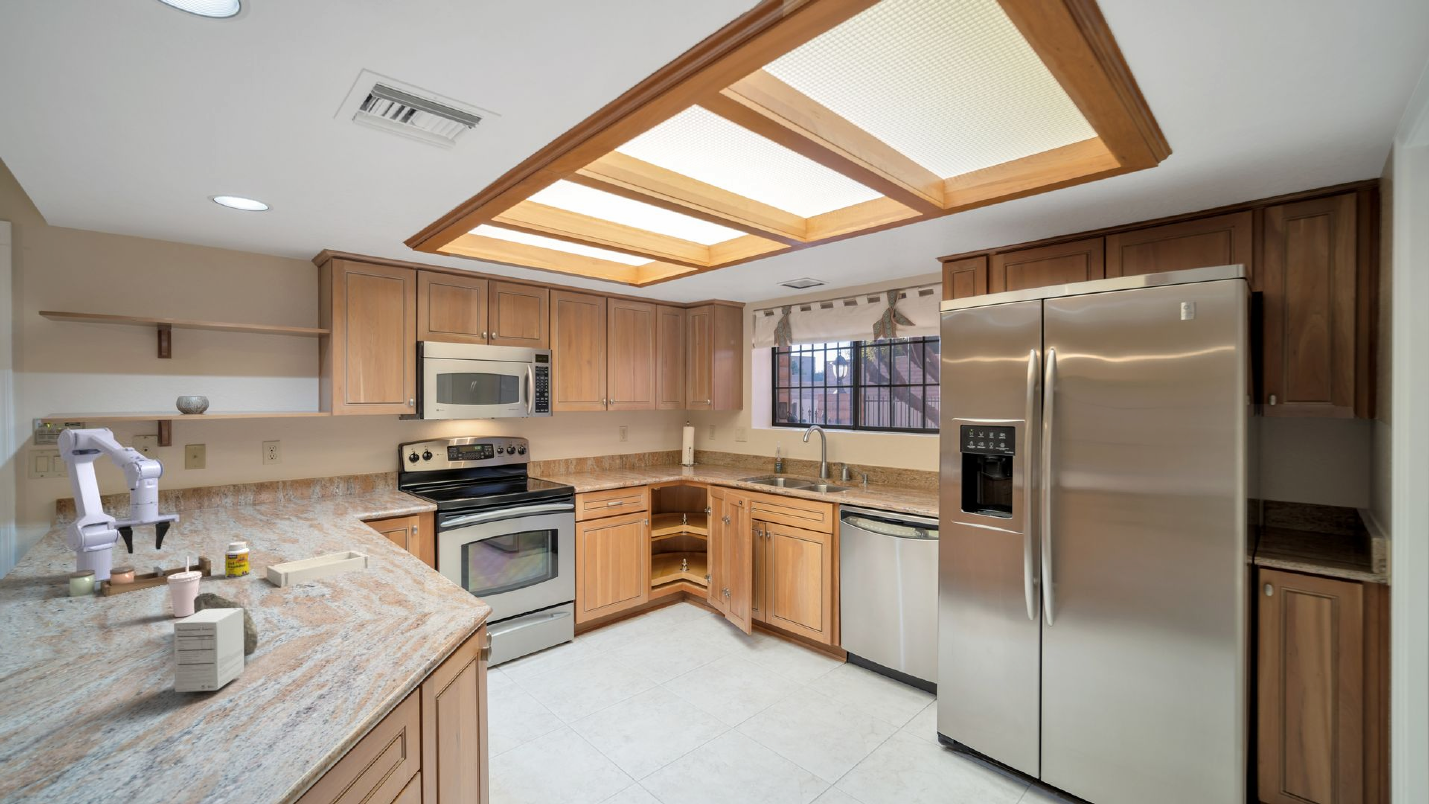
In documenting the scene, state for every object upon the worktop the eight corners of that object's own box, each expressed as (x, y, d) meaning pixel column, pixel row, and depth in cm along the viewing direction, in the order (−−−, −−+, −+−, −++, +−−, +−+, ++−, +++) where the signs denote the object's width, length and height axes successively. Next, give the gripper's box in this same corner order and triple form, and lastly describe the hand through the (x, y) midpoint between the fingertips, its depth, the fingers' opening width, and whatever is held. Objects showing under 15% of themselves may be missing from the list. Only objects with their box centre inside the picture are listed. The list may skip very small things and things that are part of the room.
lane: (100, 590, 163) (100, 572, 163) (202, 572, 180) (202, 555, 180) (106, 597, 158) (106, 578, 158) (210, 577, 175) (210, 560, 175)
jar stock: (108, 590, 163) (108, 569, 163) (132, 586, 167) (132, 565, 167) (111, 594, 160) (111, 572, 160) (136, 589, 164) (136, 568, 164)
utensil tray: (266, 580, 172) (266, 566, 172) (353, 562, 191) (353, 550, 191) (281, 588, 165) (281, 573, 165) (370, 569, 183) (370, 556, 183)
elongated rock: (183, 631, 134) (182, 587, 134) (212, 623, 139) (212, 581, 139) (242, 670, 115) (242, 619, 115) (274, 660, 119) (274, 611, 119)
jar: (68, 594, 159) (67, 572, 159) (93, 590, 163) (93, 568, 163) (70, 598, 157) (70, 575, 157) (96, 593, 160) (96, 571, 160)
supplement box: (204, 673, 113) (204, 608, 113) (245, 672, 114) (245, 606, 114) (172, 693, 106) (172, 622, 106) (216, 691, 106) (216, 621, 106)
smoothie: (208, 611, 147) (208, 555, 147) (177, 620, 141) (177, 561, 141) (191, 608, 149) (191, 552, 149) (160, 617, 143) (160, 559, 143)
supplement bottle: (223, 581, 171) (223, 546, 171) (226, 576, 176) (226, 542, 175) (248, 578, 174) (248, 543, 174) (250, 573, 179) (250, 540, 179)
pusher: (153, 581, 170) (153, 567, 170) (162, 579, 172) (162, 565, 172) (158, 585, 167) (158, 570, 167) (167, 583, 168) (167, 569, 168)
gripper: (110, 508, 159) (110, 558, 159) (181, 500, 170) (182, 548, 170) (105, 505, 163) (106, 554, 163) (175, 498, 174) (176, 544, 174)
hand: (144, 551), depth 167 cm, fingers open, 5 cm apart
